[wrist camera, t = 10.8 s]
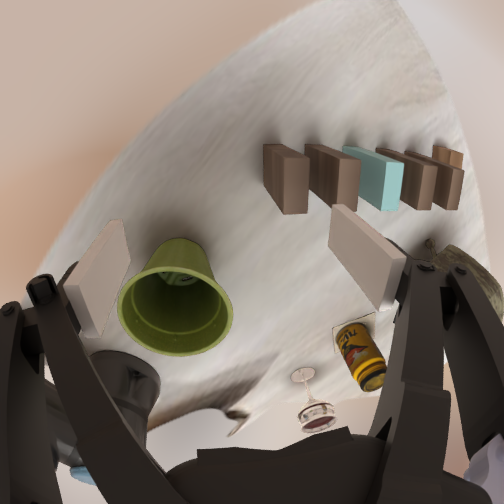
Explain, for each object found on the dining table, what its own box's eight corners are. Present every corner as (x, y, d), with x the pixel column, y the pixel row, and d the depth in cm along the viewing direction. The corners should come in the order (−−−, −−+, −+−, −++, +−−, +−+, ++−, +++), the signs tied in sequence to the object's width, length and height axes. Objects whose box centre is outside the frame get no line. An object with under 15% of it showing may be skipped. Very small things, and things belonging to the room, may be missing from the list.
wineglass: (293, 388, 54) (307, 436, 44) (281, 374, 51) (295, 426, 40) (323, 375, 53) (341, 422, 43) (313, 359, 50) (332, 411, 40)
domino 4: (400, 185, 36) (446, 210, 27) (404, 151, 33) (453, 169, 25) (411, 185, 36) (457, 210, 27) (415, 152, 34) (464, 170, 25)
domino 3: (372, 184, 35) (417, 210, 26) (375, 148, 33) (423, 165, 24) (385, 184, 35) (430, 210, 27) (389, 149, 33) (437, 166, 24)
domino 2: (303, 184, 34) (335, 212, 25) (304, 144, 32) (339, 159, 23) (320, 183, 34) (356, 211, 26) (322, 144, 32) (361, 159, 23)
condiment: (332, 327, 47) (358, 380, 36) (375, 311, 47) (407, 358, 36) (334, 352, 50) (357, 401, 40) (373, 337, 50) (401, 382, 40)
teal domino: (340, 183, 35) (380, 211, 26) (342, 145, 32) (386, 161, 24) (355, 183, 35) (397, 210, 26) (358, 146, 32) (404, 163, 24)
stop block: (426, 195, 37) (442, 204, 34) (433, 145, 33) (451, 151, 30) (439, 196, 37) (455, 204, 34) (445, 147, 34) (463, 153, 30)
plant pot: (185, 311, 41) (182, 370, 31) (121, 262, 36) (97, 316, 26) (244, 261, 38) (257, 316, 28) (178, 200, 33) (165, 242, 23)
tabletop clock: (445, 279, 46) (523, 363, 25) (412, 307, 48) (483, 402, 26) (431, 227, 40) (539, 318, 18) (392, 259, 42) (491, 371, 20)
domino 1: (263, 185, 34) (283, 214, 25) (263, 144, 31) (284, 158, 22) (281, 184, 34) (307, 213, 25) (281, 144, 31) (309, 158, 23)
